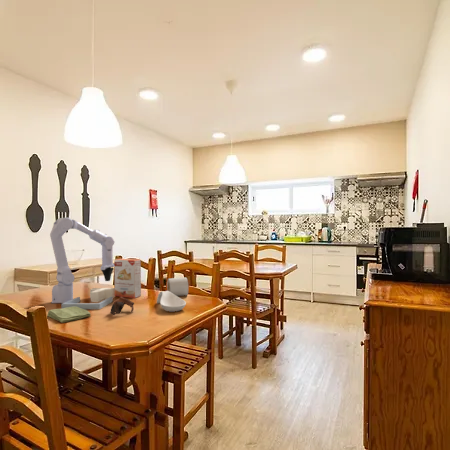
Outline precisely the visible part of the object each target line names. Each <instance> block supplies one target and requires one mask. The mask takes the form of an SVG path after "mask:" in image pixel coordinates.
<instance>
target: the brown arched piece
mask: <svg viewBox="0 0 450 450" xmlns="http://www.w3.org/2000/svg"><path fill="white" fill-rule="evenodd" d="M125 305H126V306H128V307H130V308H131V310H130V312H131V314H132V313H133V312H134V305H135V303H134V302H133V301H132V300H130V299H128V298H127V297H119V298H117V299H116V300H114V301H113V302H112V305H111V308H110V312H109V313H110V314H111V315H112V316H115V314H117V315H119V314H121V313H122V311H123V309H124V307H125Z"/></svg>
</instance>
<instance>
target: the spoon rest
mask: <svg viewBox="0 0 450 450" xmlns="http://www.w3.org/2000/svg"><path fill="white" fill-rule="evenodd" d="M156 303H157V304H160V307H161V308H162V309H163V310H164V311H166V312H168V311H169V312H170V313H174V312H175V311H176V312H179V311H181V310H183V309H184V308H185V306H186V304H187V301H185V300H184V299H183V298H181V297H180V296H176V295H174V294H173V293H171V292H169V291H167V290H165V291H162V290H161V291H160V292H159V293H158V295H157V299H156Z"/></svg>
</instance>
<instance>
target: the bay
mask: <svg viewBox="0 0 450 450" xmlns="http://www.w3.org/2000/svg"><path fill="white" fill-rule="evenodd" d="M113 299H114V298H113V297H109V298H107V299H103V300H101V301H99V302H89V303H83V302H81V297H80V296H77V297H73V299H72V300H70V301H67V302H65V303H61V309H62V308H67V307H75V306H76V307H79V308H81V309H84V310H101V309H103V308H104V307H106V306H108V305H109V304H111V303H114V301H113Z"/></svg>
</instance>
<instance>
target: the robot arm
mask: <svg viewBox="0 0 450 450" xmlns="http://www.w3.org/2000/svg"><path fill="white" fill-rule="evenodd" d="M72 229H73V230H77V231H79V232H80V233H82V234H83V233H84V234H86V235H88V237H89V239H90V240H93V241H94V242H96V243H98V244H100V246H101V266H100V271H101V272H102V274H103V276H104V281H105V282H110V281H111V277H112V273H113V271H114V270H115V264H114V263H113V261H114V260H113V258H114V255H113V253H114V252H113V248H114V247H113V246H114V245H115V240H114V238H113V237H112V236H108V234H106V233H103V232H101V230H100V229H91V228H89V227H87V226H86V225H84V224H82V223H81V222H79V221H77V220H75V219H74V218H73V219H72V218H70V217H60V218H57V219H56V220H55V221H54V222H53V225H52V229H51V231H50V234H49V236H50V237H49V238H50V241H51V244H52V250H53V253H54V257H55V263H56V266H57V268H56V281H57V284H55V285H53V286H52V289H51V302H50V303H51V304H63V303H65V302H67V301H70V300H72V299H74V282H75V275H74V274H73V272H72V270H71V268H70V266H69V263H68V258H67V254H66V253H67V252H66V250H65V246H64V240H63V236H64V235H65V234H66V232H67V231H69V230H72Z"/></svg>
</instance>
